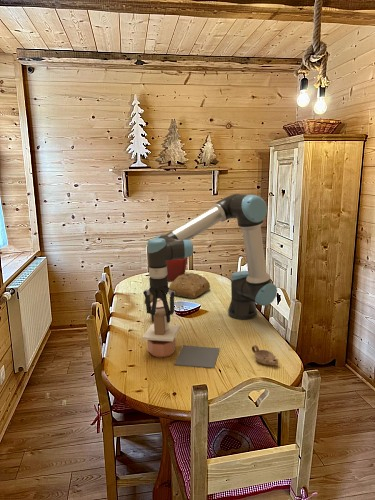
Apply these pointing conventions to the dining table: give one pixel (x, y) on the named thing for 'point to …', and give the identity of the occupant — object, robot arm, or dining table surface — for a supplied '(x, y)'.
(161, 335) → the lid
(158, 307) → the teacup with lid
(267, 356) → the oil lamp
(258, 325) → the dining table surface
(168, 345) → the bowl
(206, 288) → the bread
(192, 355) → the mat
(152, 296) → the rock
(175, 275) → the plant pot
